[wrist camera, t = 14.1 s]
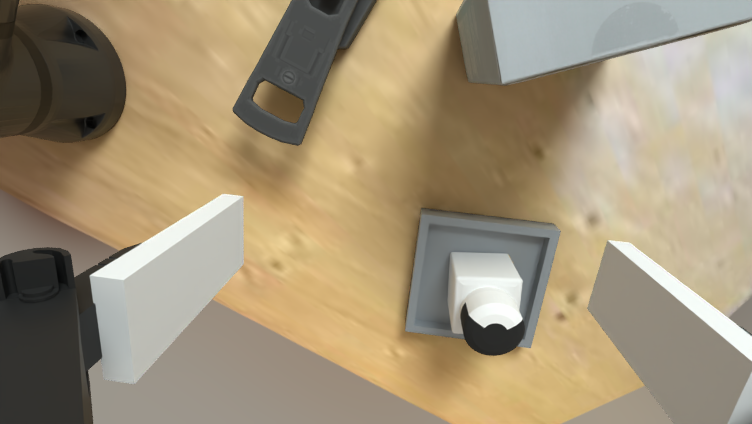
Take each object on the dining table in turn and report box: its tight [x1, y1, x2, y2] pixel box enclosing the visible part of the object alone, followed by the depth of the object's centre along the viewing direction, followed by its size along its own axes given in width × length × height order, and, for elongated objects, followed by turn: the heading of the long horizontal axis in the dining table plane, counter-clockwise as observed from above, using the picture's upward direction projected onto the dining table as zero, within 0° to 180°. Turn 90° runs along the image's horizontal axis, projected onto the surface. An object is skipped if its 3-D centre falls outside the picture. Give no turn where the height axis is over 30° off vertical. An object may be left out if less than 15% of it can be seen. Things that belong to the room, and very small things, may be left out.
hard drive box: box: [456, 0, 752, 85], centre depth 34 cm, size 16×8×20 cm, turn 105°
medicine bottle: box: [447, 252, 525, 356], centre depth 46 cm, size 7×7×12 cm
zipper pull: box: [233, 0, 377, 146], centre depth 42 cm, size 9×7×25 cm
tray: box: [405, 208, 561, 348], centre depth 52 cm, size 16×16×2 cm
